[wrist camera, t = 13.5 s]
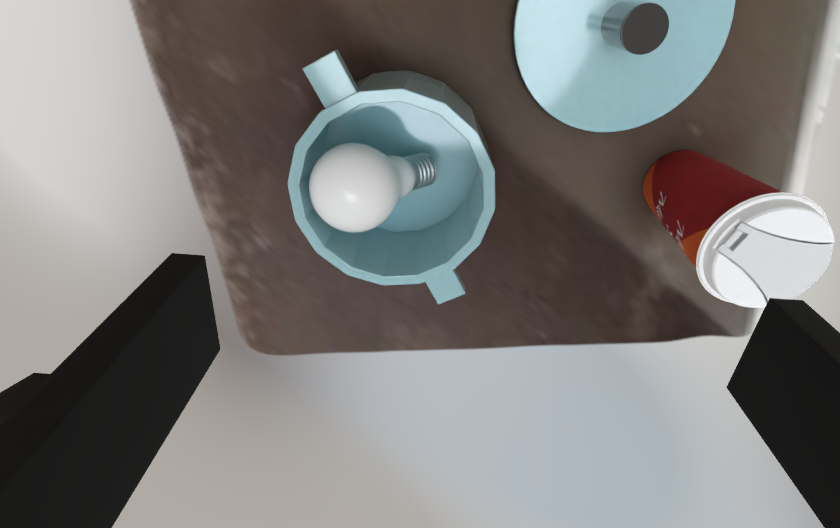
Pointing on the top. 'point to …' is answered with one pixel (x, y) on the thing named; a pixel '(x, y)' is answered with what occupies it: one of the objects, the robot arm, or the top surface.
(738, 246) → the paper cup
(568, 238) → the top surface
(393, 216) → the pot
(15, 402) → the robot arm
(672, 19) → the lid
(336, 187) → the lightbulb
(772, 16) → the top surface
